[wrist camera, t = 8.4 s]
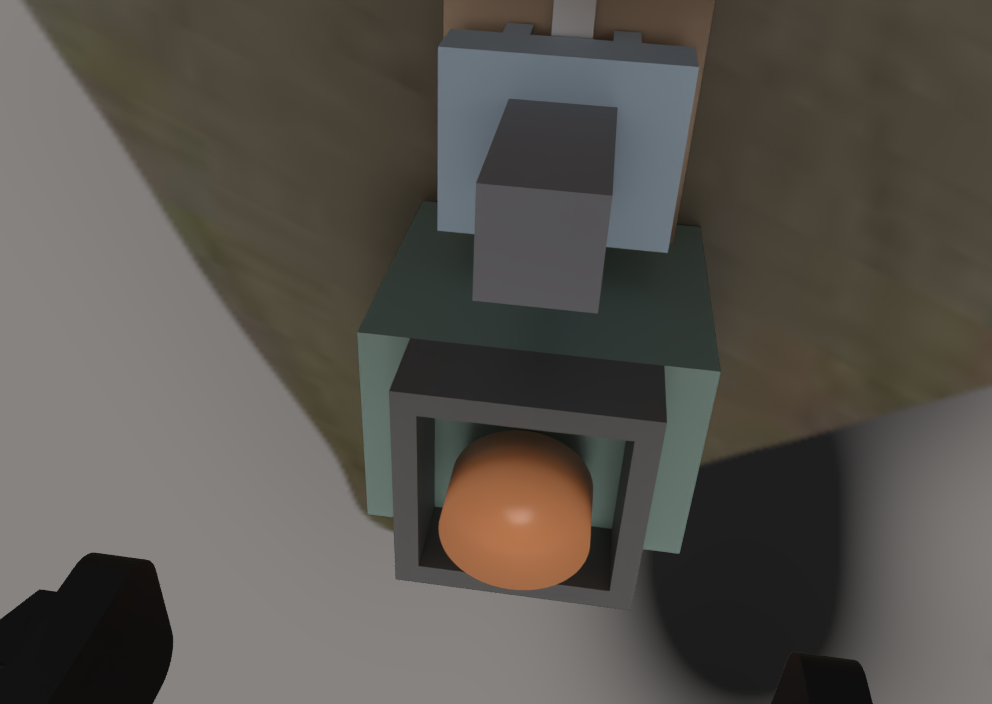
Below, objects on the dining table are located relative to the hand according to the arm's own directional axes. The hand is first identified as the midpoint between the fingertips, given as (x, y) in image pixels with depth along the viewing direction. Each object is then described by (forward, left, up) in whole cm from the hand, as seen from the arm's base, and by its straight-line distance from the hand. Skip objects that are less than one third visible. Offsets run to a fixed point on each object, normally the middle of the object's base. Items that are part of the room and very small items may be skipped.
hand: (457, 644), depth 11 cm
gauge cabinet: (+8, 0, -22) cm, 23 cm away
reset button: (+8, 0, -11) cm, 13 cm away
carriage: (0, 0, -20) cm, 20 cm away
